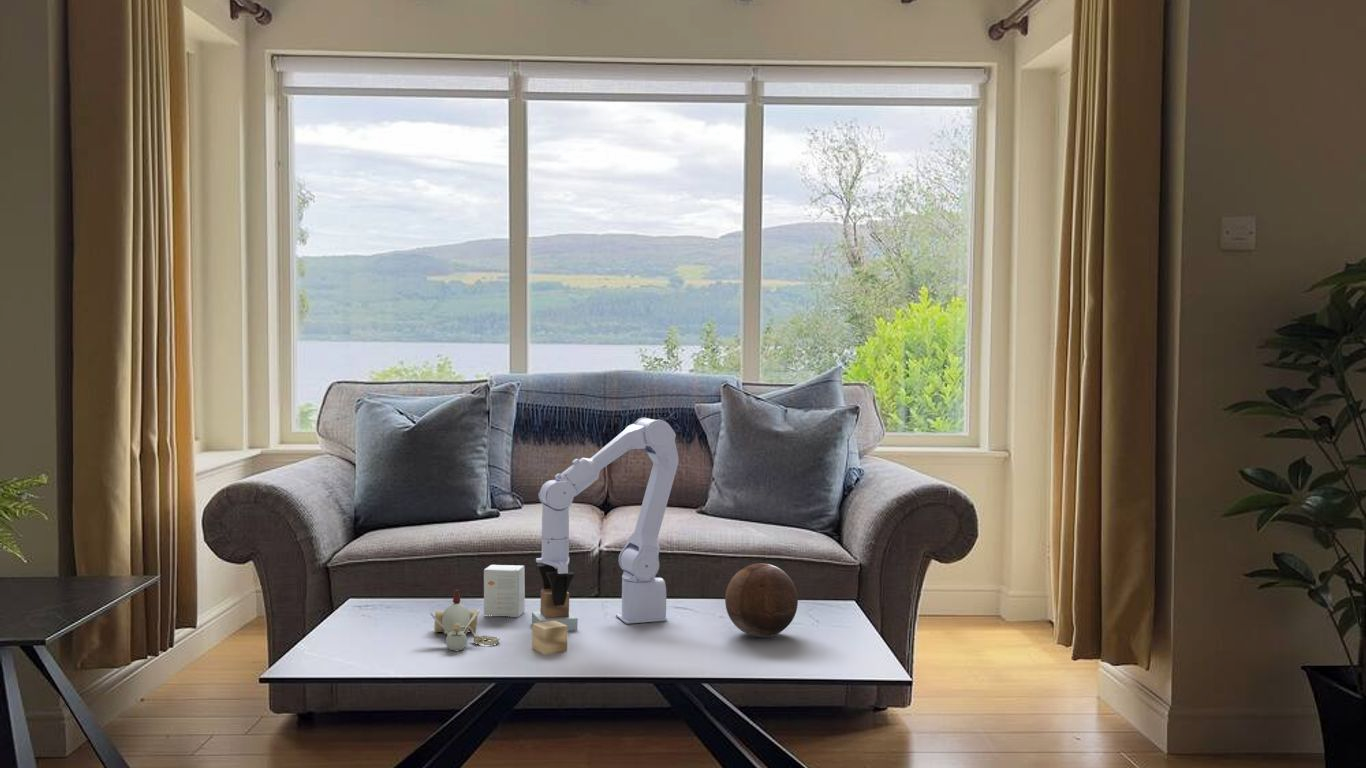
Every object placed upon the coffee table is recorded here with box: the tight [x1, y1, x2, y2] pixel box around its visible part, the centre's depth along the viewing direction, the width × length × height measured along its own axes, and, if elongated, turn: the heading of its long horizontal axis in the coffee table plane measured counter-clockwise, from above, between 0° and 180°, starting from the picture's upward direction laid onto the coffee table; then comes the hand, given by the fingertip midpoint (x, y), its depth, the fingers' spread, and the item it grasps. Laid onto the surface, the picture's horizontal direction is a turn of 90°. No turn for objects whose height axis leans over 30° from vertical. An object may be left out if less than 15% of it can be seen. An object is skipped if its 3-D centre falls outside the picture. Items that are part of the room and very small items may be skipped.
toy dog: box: [430, 589, 501, 652], centre depth 214 cm, size 12×19×9 cm, turn 34°
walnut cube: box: [539, 588, 570, 618], centre depth 224 cm, size 5×5×5 cm
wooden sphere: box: [724, 562, 799, 638], centre depth 219 cm, size 15×15×15 cm
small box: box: [483, 564, 526, 618], centre depth 235 cm, size 8×6×10 cm
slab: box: [531, 610, 579, 632], centre depth 224 cm, size 8×8×3 cm
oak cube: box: [531, 620, 568, 656], centre depth 207 cm, size 5×5×5 cm
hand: (554, 601), depth 224 cm, fingers open, 7 cm apart
